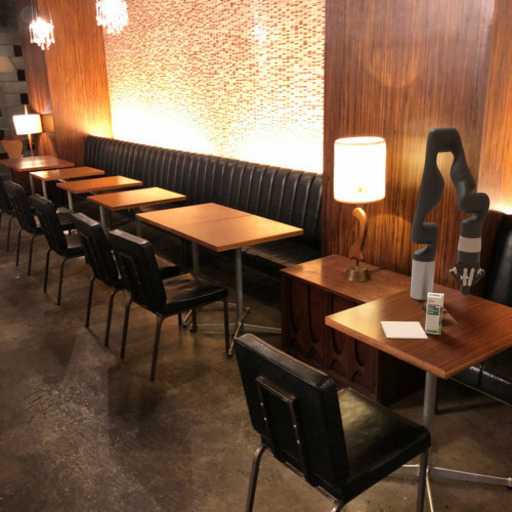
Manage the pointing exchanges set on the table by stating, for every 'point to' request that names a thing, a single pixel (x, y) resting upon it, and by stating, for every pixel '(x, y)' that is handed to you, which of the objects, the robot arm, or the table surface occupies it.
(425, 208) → the robot arm
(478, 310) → the table surface
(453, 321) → the sunglasses case
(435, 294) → the syrup box
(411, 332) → the placemat
